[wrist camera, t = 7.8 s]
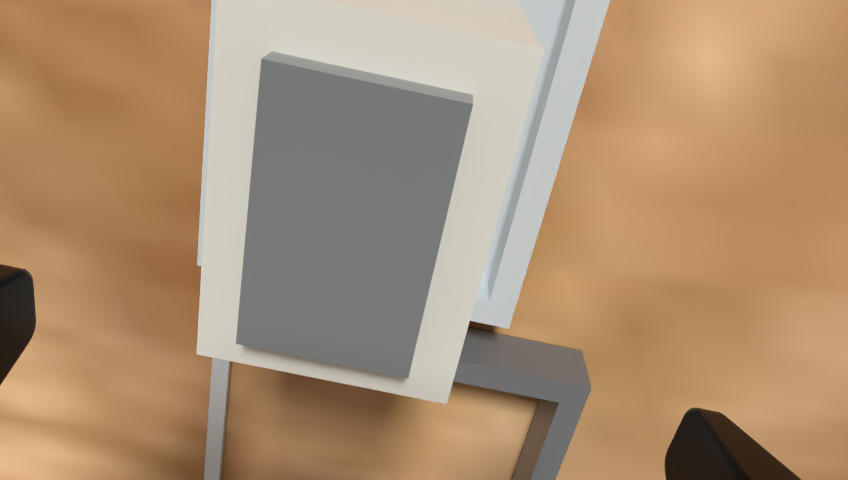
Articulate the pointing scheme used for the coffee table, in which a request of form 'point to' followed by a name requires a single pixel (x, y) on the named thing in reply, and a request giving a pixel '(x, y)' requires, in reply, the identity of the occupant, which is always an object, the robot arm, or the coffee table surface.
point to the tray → (536, 153)
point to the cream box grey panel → (358, 182)
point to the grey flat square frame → (485, 367)
